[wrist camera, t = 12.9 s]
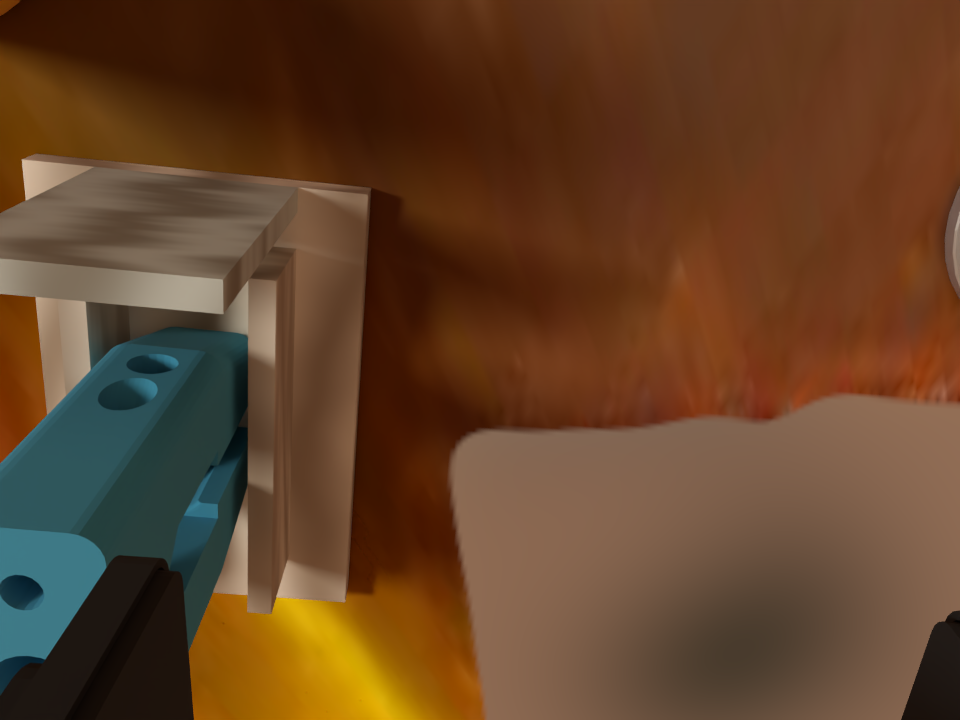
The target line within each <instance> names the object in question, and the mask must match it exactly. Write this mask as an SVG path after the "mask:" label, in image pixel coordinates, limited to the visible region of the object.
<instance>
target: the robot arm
mask: <svg viewBox="0 0 960 720" xmlns="http://www.w3.org/2000/svg"><path fill="white" fill-rule="evenodd" d="M945 261H946V265H947V269H948V274H949V278H950V281H951V283H952V285H953V287H954V289H955V291H956V293H957V295H958V297H959V299H960V188H959V189H958V191H957V194H956V197H955V199H954V202H953V205H952V208H951V210H950V213H949V217H948V223H947V228H946V234H945ZM0 720H194V717H193V704H192V691H191V678H190V665H189V652H188V639H187V627H186V614H185V601H184V588H183V578H182V575H181V573H180V572H179V571H169V567H168V563H167V561H166V560H165V559H163V558H154V557H138V556H123V555H118V556H116V557H114V558H113V559H112V561H111V562H110V563H109V565H108V566H107V568H106V569H105V571H104V572H103V574H102V575H101V577H100V578H99V580H98V581H97V583H96V584H95V586H94V587H93V589H92V590H91V592H90V593H89V595H88V596H87V598H86V599H85V601H84V602H83V604H82V605H81V607H80V608H79V610H78V611H77V613H76V614H75V616H74V617H73V619H72V620H71V622H70V623H69V625H68V626H67V628H66V629H65V631H64V632H63V634H62V635H61V637H60V638H59V640H58V641H57V643H56V644H55V646H54V647H53V649H52V650H51V652H50V653H49V655H48V656H47V658H46V659H45V661H44V662H43V663H29V664H27V665H25V666H23V667H22V668H21V669H20V670H19V671H18V672H17V673H16V674H15V676H14V677H13V678H12V679H11V681H10V682H9V684H8V685H7V687H6V688H5V689H4V691H3V692H2V694H1V695H0ZM901 720H960V611H954V612H952V613H951V614H950V615H948V617H947V619H946V621H945V622H938V623H937V624H936V625H935V626H934V628H933V630H932V632H931V635H930V638H929V641H928V644H927V647H926V650H925V653H924V655H923V658H922V661H921V664H920V667H919V670H918V673H917V676H916V679H915V682H914V684H913V687H912V690H911V693H910V696H909V699H908V702H907V704H906V708H905V710H904V713H903V716H902V719H901Z"/></svg>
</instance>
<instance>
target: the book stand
mask: <svg viewBox="0 0 960 720" xmlns="http://www.w3.org/2000/svg"><path fill="white" fill-rule="evenodd" d="M22 166H23V176H24V186H25V196H26V201H24V202H22V203H20V204H18V205H16V206H14V207H12V208H10V209H8V210H6V211H4V212H2V213H0V294H9V295H20V296H31V297H36V306H37V317H38V327H39V337H40V347H41V357H42V367H43V377H44V387H45V397H46V407H47V415H48V414H49V413H50V412H51V411H52V410H53V409H54V408H55V407H56V406H57V404H58V403H59V402H60V401H61V400H62V399H63V398H64V397H65V396H66V395H67V394H68V393H69V392H70V391H71V390H72V389H73V388H74V387H75V386H76V385H77V384H78V383H79V382H80V381H81V380H82V379H83V378H84V377H85V376H86V374H87V373H88V372H89V371H90V370H91V369H92V368H93V367H94V366H95V365H96V364H97V363H98V362H99V361H100V360H101V359H102V358H103V357H104V356H105V355H106V354H107V353H108V352H109V351H110V350H111V349H112V348H113V347H115V346H116V345H119V344H122V343H125V342H128V341H131V340H133V339H136V338H139V337H142V336H145V335H148V334H150V333H153V332H156V331H159V330H162V329H165V328H168V327H184V328H194V329H204V330H214V331H224V332H234V333H240V334H242V335H245V336H246V337H247V338H248V407H247V409H246V411H245V413H244V415H243V417H242V419H241V421H240V423H239V425H238V427H246V428H248V486H247V489H246V493H245V496H244V499H243V502H242V506H241V509H240V512H239V516H238V519H237V522H236V526H235V529H234V532H233V535H232V539H231V542H230V545H229V549H228V552H227V555H226V559H225V562H224V565H223V569H222V571H221V574H220V576H219V579H218V581H217V583H216V586H215V588H214V591H213V593H227V594H240V595H248V612H252V613H266V614H271V613H272V609H273V606H274V603H275V600H276V597H281V598H295V599H309V600H322V601H336V602H345V600H346V594H347V589H348V579H349V562H350V544H351V527H352V510H353V493H354V475H355V458H356V441H357V423H358V406H359V389H360V372H361V354H362V337H363V320H364V303H365V285H366V268H367V251H368V234H369V216H370V199H371V188H368V187H358V186H348V185H338V184H329V183H319V182H309V181H299V180H289V179H280V178H270V177H260V176H250V175H240V174H231V173H221V172H211V171H201V170H191V169H181V168H172V167H162V166H152V165H142V164H132V163H123V162H113V161H103V160H93V159H83V158H74V157H64V156H54V155H44V154H34V155H32V156H29V157H27V158H24V159H22Z"/></svg>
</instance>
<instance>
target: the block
mask: <svg viewBox="0 0 960 720" xmlns="http://www.w3.org/2000/svg"><path fill="white" fill-rule="evenodd" d="M247 407H248V338H247V337H246V336H245V335H242V334H240V333H234V332H224V331H214V330H204V329H194V328H184V327H168V328H165V329H162V330H159V331H156V332H153V333H150V334H148V335H145V336H142V337H139V338H136V339H133V340H131V341H128V342H125V343H122V344H119V345H116V346H115V347H113V348H112V349H111V350H110V351H109V352H108V353H107V354H106V355H105V356H104V357H103V358H102V359H101V360H100V361H99V362H98V363H97V364H96V365H95V366H94V367H93V368H92V369H91V370H90V371H89V372H88V373H87V374H86V376H85V377H84V378H83V379H82V380H81V381H80V382H79V383H78V384H77V385H76V386H75V387H74V388H73V389H72V390H71V391H70V392H69V393H68V394H67V395H66V396H65V397H64V398H63V399H62V400H61V401H60V402H59V403H58V404H57V406H56V407H55V408H54V409H53V410H52V411H51V412H50V413H49V414H48V415H47V416H46V417H45V418H44V419H43V420H42V421H41V422H40V423H39V424H38V425H37V426H36V427H35V428H34V429H33V430H32V431H31V432H30V433H29V434H28V436H27V437H26V438H25V439H24V440H23V441H22V442H21V443H20V444H19V445H18V446H17V447H16V448H15V449H14V450H13V451H12V452H11V453H10V454H9V455H8V456H7V457H6V458H5V459H4V460H3V461H2V462H1V463H0V695H1V694H2V692H3V691H4V689H5V688H6V687H7V685H8V684H9V682H10V681H11V679H12V678H13V677H14V676H15V674H16V673H17V672H18V671H19V670H20V669H21V668H22V667H23V666H25V665H27V664H29V663H43V662H44V661H45V659H46V658H47V656H48V655H49V653H50V652H51V650H52V649H53V647H54V646H55V644H56V643H57V641H58V640H59V638H60V637H61V635H62V634H63V632H64V631H65V629H66V628H67V626H68V625H69V623H70V622H71V620H72V619H73V617H74V616H75V614H76V613H77V611H78V610H79V608H80V607H81V605H82V604H83V602H84V601H85V599H86V598H87V596H88V595H89V593H90V592H91V590H92V589H93V587H94V586H95V584H96V583H97V581H98V580H99V578H100V577H101V575H102V574H103V572H104V571H105V569H106V568H107V566H108V565H109V563H110V562H111V561H112V559H113V558H114V557H116V556H118V555H123V556H138V557H154V558H163V559H165V560H166V561H167V563H168V567H169V571H179V572H180V573H181V575H182V578H183V588H184V601H185V614H186V627H187V639H188V652H189V649H190V647H191V644H192V642H193V639H194V637H195V635H196V632H197V630H198V627H199V625H200V622H201V620H202V617H203V615H204V613H205V610H206V608H207V605H208V603H209V600H210V598H211V596H212V593H213V591H214V588H215V586H216V583H217V581H218V579H219V576H220V574H221V571H222V569H223V565H224V562H225V559H226V555H227V552H228V549H229V545H230V542H231V539H232V535H233V532H234V529H235V526H236V522H237V519H238V516H239V512H240V509H241V506H242V502H243V499H244V496H245V493H246V489H247V486H248V428H246V427H238V425H239V423H240V421H241V419H242V417H243V415H244V413H245V411H246V409H247Z"/></svg>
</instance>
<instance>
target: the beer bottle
mask: <svg viewBox="0 0 960 720" xmlns="http://www.w3.org/2000/svg"><path fill="white" fill-rule="evenodd" d="M20 1H21V0H0V16H1V15H3V14H5V13H6V12H7V11H9V10H10V9H11V8H12V7H14V6H15V5H16V4H18V3H19V2H20Z"/></svg>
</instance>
